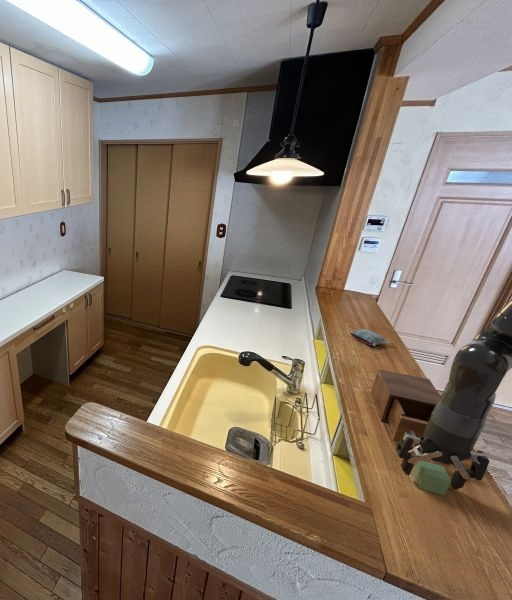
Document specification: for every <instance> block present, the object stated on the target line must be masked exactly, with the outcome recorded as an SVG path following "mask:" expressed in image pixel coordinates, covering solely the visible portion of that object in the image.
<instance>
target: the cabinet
mask: <svg viewBox="0 0 512 600" xmlns="http://www.w3.org/2000/svg"><path fill="white" fill-rule="evenodd" d="M376 372H377V373H376V375H375V379H374V382H373V385H372V388H371V392H370V396H371V399H372V402H373V401H374V402H373V405H374V407H375V410H376V412H377V415H378V417H379V420H380V422H383V423H387V424H389V422H388V419H387V417H386V415H387V412H388V409H389V406H390V403H391V400H392V397H393V398H398V399H402V400H407V401H411V402H416V403H420V404H425V405H429V406H434V407H435V406H436V404H437V403H438V402H439V400H440V398H441V396H442V395H441V394H440V393H439V391H438V389H437V388H436V387H435V385H434V384H433V383H432V381H431V380H430V378H424V377H420V376H415V375H409V374H405V373H398V372H394V371H388V370H383V369H378V370H377V371H376Z"/></svg>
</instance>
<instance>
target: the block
mask: <svg viewBox="0 0 512 600" xmlns="http://www.w3.org/2000/svg"><path fill="white" fill-rule="evenodd" d="M412 474H413V477H414V480H415V482H416V483H417V484H416V485H417V487H418V489H420V490H423V491H428V492H430V493H433V494H434V493H435V494H437V495H440V496H443V497H445V496H446V494H447V492H448V490H449V487H451V477H450V476H449V473H448V472H447V469H445V467H444V465H440V464H436V463H433V462H429V461H427V460H426V461H418V462H416V464H415V467H414V470H413V472H412Z"/></svg>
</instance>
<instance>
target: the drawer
mask: <svg viewBox="0 0 512 600" xmlns="http://www.w3.org/2000/svg"><path fill="white" fill-rule="evenodd" d="M434 408H435V407H434V406H429V405H425V404H420V403H416V402H411V401H407V400H402V399H398V398H393V397H392V400H391V403H390V406H389V409H388V412H387V415H386V417H387V419H388V422H389V423H388V424H389V427H390V428H391V431H392V436H391V441H392V442H395V443H399V441H400V439H401V437H402V436H403V434H404V432H409V433H410V434H411V436H415V437H418V438H420V437H422V436H423V435H424V432H425V429H426V426H427V424H428V422H429V419H430V417H431V413H432V412H433V410H434ZM418 445H420V444H415V445H414V446H412V447H413V448H414V447H415V446H418Z"/></svg>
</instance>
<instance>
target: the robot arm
mask: <svg viewBox="0 0 512 600" xmlns="http://www.w3.org/2000/svg"><path fill="white" fill-rule="evenodd" d="M511 369H512V298H511V299H510V300H509V301H507V303H505V304H504V305H503V307H502V308H501V309H500V310H499V311H498V312H497V313H496V314H495V315H494V317H493V318H492V320H491V322H490V323H489V324H488V325H487V326H486V327H485V328H484V329H483V330H482V331H481V332H479V334H477V335H476V336H475V337H474V338H473V339H472V340H470V341H469V342H468V343H466V344H465V345H463V346H462V347H461V348H460V349H459V350H458V351H457V352H456V354H455V356H454V358H453V360H452V363H451V366H450V371H449V377H448V382H447V383H446V384H445V387H444V389H443V391H442V394H441V395H440V396H441V398H440V400H439V402H438V403H437V404H436V406H435V408H434V410H433V412H432V413H431V417H430V419H429V422H428V424H427V426H426V429H425V432H424V435H423V436H422V437H420V438H418V437H415V436H411V434H410V433H409V432H404V434H403V436H402V437H401V439H400V441H399V443H398V442H397V443H398V444H396V445H397V446H396V447H395V450H396V452H397V456H398V458H400V459H401V460H402V461H401V464H400V467H401V470H402V472H403V473H404V475H407V476H410V475H411V472H412V471H413V469H414V466H415V463H417V462H418V461H426V462H427V461H428V460H430V461H433V462H438V463H442V464H443V465H447V466H450V465H454V466H455V468H456V469H457V470H456V469H455V470H454V471H453V474H452V475H451V477H450V480H451V484H450V487H451V488H452V489H453V490H456V491H458V490H459V489H462V488H463V487H464V486H465V484H466V482H467V480H469V479H475V480H476V481H482V480H483V479H484V476H485V474H486V471H487V469H488V467H489V465H490V460H489V458H488V456H487V455H486V454H485V452H484V451H482V450H476V451H473V450H474V447H475V446H476V443H477V442H478V440H479V438H480V436H481V433H482V432H483V429H484V428H485V425H486V421H487V418H488V415H489V413H490V412H491V410H492V408H493V405H494V403H495V401H496V397H497V394H496V392H497V390H498V388H499V386H500V385H501V383H502V381H503V380H504V378H505V376H506V375H507V373H508V372H509V371H510V370H511ZM415 444H420V445H418V446H415V447H413V446H414V445H415ZM412 447H413V448H412ZM411 448H412V449H411ZM422 452H424V453H422ZM469 459H471V460H472V461H471V464H470V466H469V468H465V467H464V465H463V464H462V462H464V461H466V460H469Z"/></svg>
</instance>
